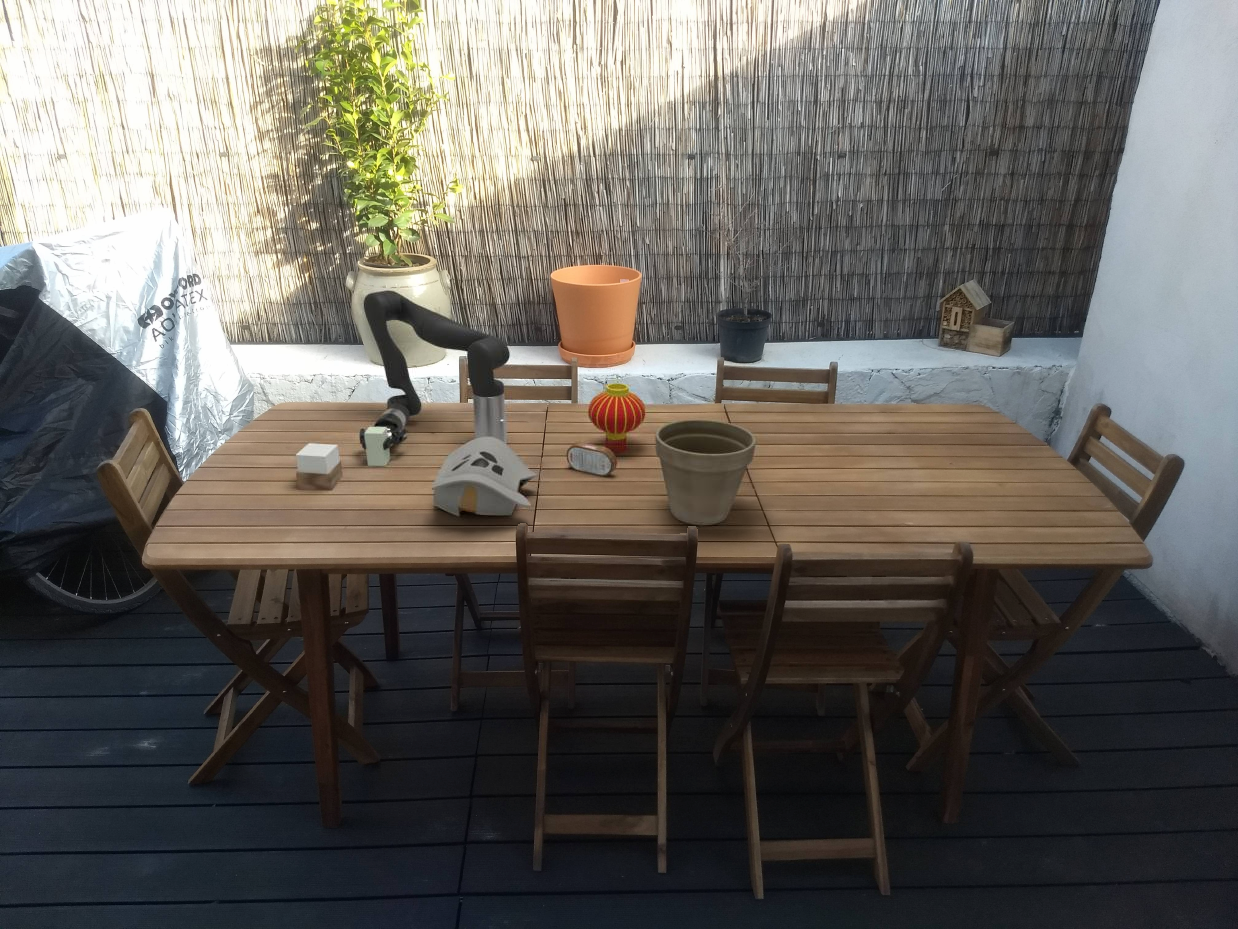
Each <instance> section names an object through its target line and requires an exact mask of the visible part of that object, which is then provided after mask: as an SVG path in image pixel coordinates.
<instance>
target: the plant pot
mask: <svg viewBox="0 0 1238 929" xmlns="http://www.w3.org/2000/svg"><path fill="white" fill-rule="evenodd" d="M654 442H655V444H654V445H655V446H654V447H655V454H656V456H657V457H658V458H659V460H660V466H661V472H662V476H663V480H664V485H665V489H666V495H667V499H668V505H669V508H670V512H671V515H672V516H673V517H674V518H676V519H677V520H678V521H681V522H682V523H686V524H690V525H695V526H712V525H717V524H720V523H722V522H723V521H725V520H726V519H727V517H728V515H729V513H730V510H731V509H732V506H733V504H734V501H735V498H736V496H737V494H738V491H739V488H740V486H741V483H742V482H743V478H744V476H745V473H746V472H747V468H748V466H749V464H751V463H752V461H753V459H754V455H755V449H756V444H757V439H756V437H755V435H754V434H753V433H752V432H751V431H749V430H748V429H746V428H744V427H742V426H740V425H737V424H735V423H731V422H727V421H722V420H716V419H705V418H691V419H690V418H687V419H681V420H680V419H679V420H676V421H671V422H667V423H666V424H664V425H662V426H660V427H659V428H657V430H656V431H655V440H654Z"/></svg>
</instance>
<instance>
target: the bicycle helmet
mask: <svg viewBox="0 0 1238 929" xmlns="http://www.w3.org/2000/svg"><path fill="white" fill-rule="evenodd" d="M539 475H540V474H538V473H535V472H533V471H532V470H531V469H529V468H528V467H527V466H526V465H525V463H524V462H523V461H522V460H521V459H520V457H519V456H518V455H517V454H516V453H515V452H514V451H513V449H511V448H510V447H509V445H508V444H507V445H506V444H505V443H504V442H502V441H501V440H499V439H497V438H494V437H480V438H477V439H475V438H474V439H472V440H470V441H468V442H466V443H464V444H462V445H461V446H459V447H457V448H456V449H455V450H453V451H451V453H450V454H448V455H447V456H446V458H445V460H444V461H443V463H442V466H441V468H440V469H439V471H438V473H437V476H436V478H435V479H434V481H433V483H432V486H431V487H430V489H431V490H432V491H433V506H435V507H437V508H438V509H439V508H440V509H441V510H443V511H445V512H446V513H449V514H452V515H454V516H456V517H460V513H461V512H462V511H465V512H469V513H474V514H475V515H481V516H482V515H483V516H512V514H513V512H514V510H515V508H516V505H518V506H521V507H525V508H531V507H532V504H531V502H530V501H529V500H528V498H527V497H525V495H523V494H521V493H522V489H523V487H524V486H525V485H526V484H527V483H528V482H529V481H531V480H532V479H534V478H537V477H539Z"/></svg>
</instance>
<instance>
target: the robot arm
mask: <svg viewBox="0 0 1238 929" xmlns="http://www.w3.org/2000/svg"><path fill="white" fill-rule="evenodd" d="M363 310H364V314H365V317H366V320H367V323H368V325H369V328H370V330H371V333H372V335H373V338H374V341H375V343H376V346H377V348H378V351H379V354H380V356H381V360H382V363H383V364H382V365H383V367H384V368H383V369H384V374H385V377H386V382H387V385H388V387H389V388H390V389H393V390H394V389H395V390H396V389H397V390H401V391H402V392H404V394H399V395H393V396H391V397H389V398H388V399H387V401H386V410H385V411H384V412H383V413H382V414H381V415H380V416H379V418H378V419H377V421H376V422H375V423H374V425H373V427H387V433H388V438H386V440H385V441H384V443H383V450H387V449H388V448H389V449H390V448H391V446H393V445H396V446H399V445H400V444H402V443H404V441H406V440H407V439H408V430H407V429H405V426H406V423H407V422H408V421H409V418H410V417H412V416H417V415H419V414H420V412H421V410H422V402H421V401H422V400H421V399H420V397H419V395H418V394H417V391H416V389H415V387H414V386H413V382H412V380H411V377H410V372H409V367H408V364H407V361H406V357H405V355H404V354H403V352H402V351H401V349H400V348H399V347H398V346H397V344H396V343H395V341H394V340H393V338H392V337H391V334H390V333H389V329H388V326H387V322H392V321H399V322H403V323H405V324H407V325H409V326H411V327H412V330H413V332H415V334H416V336H417V337H418V338H420V339H421V340H423V341H424V342H426V343H428V344H431V345H433V346H435V347H438V348H441V349H447V350H454V351H461V352H466V364H467V372H468V381H469V384H470V386H471V389H472V402H473V403H472V404H473V407H472V408H473V425H474V439H477V438H480V437H494V438H497V439H499V440H501V441H502V442H504V443H505V444H506V445H507V446H508V429H507V426H508V425H507V424H508V423H507V422H508V421H507V414H506V408H505V407H506V404H505V385H504V382H503V381H502V380H499V379H495V374H494V370H497V369H499V368H501V367H503V366H505V365H506V364H507V363H508V361H509V360H510V357H511V352H510V349H509V347H508V345H507V344H506V342H505V341H503V340H502V339H501V338H499V337H497V336H494V335H491V334H488V333H484V332H482V331H478V330H476V329H473V328H471V327H469V326H466V325H464V324H462V323H460V322H458V321H455V320H452V319H451V318H449V317H447V316H445V315H442V314H440V313H438V312H436V311H433V310H431V309H429V308H426V307H424V306H423V305H422V306H421V305H419V304H417V303H415V302H414V301H412V300H410V299H408V298H407V297H405V296H404V295H402V294H400V293H399V292H396V291H394V290H381V291H375V292H371V293H368V294H367V295H366V296H365V297H364V299H363ZM366 430H367V429H366ZM366 430H365V428H360V430H359V444H360V445H361V447H362V449H363V450H365V451H366V443H365V436H364V433H365V432H366Z"/></svg>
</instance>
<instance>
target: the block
mask: <svg viewBox="0 0 1238 929" xmlns="http://www.w3.org/2000/svg"><path fill="white" fill-rule="evenodd" d="M364 436H365V443H366V450H365V451H366V460H367V461H366V462H367V466H368V467H386V466H387V465H388V463H389V461H391V453H390V448H388V449H387V450H383V443H384V441H385V440H386V438H388V433H387V427H374V426H368V428H367V429H366V432H365V433H364Z"/></svg>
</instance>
